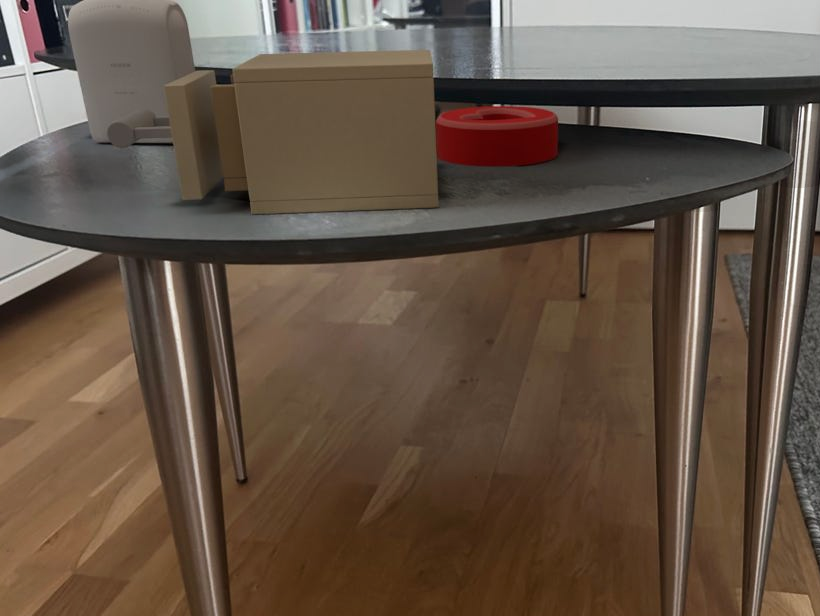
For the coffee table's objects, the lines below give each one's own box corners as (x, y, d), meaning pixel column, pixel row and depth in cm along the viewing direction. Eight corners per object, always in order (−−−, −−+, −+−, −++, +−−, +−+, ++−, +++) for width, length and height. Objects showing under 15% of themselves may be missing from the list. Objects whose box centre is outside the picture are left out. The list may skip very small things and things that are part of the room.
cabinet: (251, 214, 53) (231, 68, 49) (274, 180, 61) (259, 53, 58) (438, 207, 53) (433, 63, 50) (434, 174, 62) (429, 49, 58)
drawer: (111, 202, 52) (88, 87, 49) (149, 173, 60) (131, 72, 57) (353, 194, 53) (343, 80, 50) (360, 166, 61) (352, 66, 58)
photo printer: (84, 145, 76) (52, -6, 70) (112, 136, 79) (84, -8, 74) (189, 147, 74) (165, -8, 68) (213, 138, 77) (191, -10, 72)
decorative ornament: (558, 166, 64) (559, 123, 62) (431, 167, 64) (429, 124, 63) (556, 143, 72) (557, 104, 71) (443, 143, 73) (442, 105, 72)
